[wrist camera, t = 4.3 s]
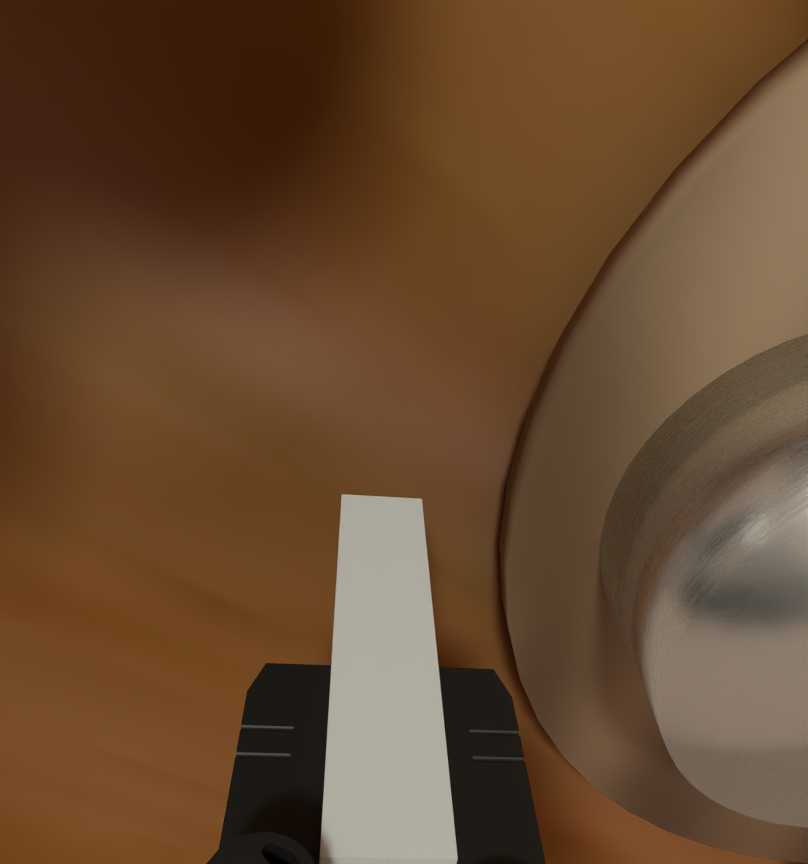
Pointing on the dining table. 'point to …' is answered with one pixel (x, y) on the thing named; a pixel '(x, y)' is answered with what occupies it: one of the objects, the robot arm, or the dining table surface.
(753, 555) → the cover
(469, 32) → the dining table surface
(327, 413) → the dining table surface
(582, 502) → the turntable
